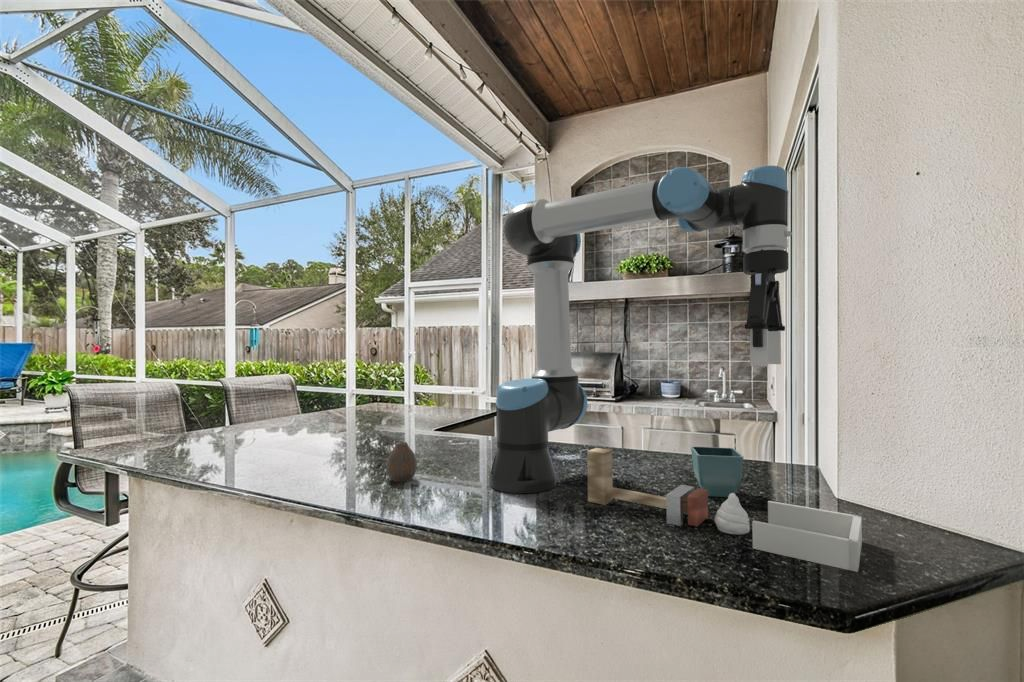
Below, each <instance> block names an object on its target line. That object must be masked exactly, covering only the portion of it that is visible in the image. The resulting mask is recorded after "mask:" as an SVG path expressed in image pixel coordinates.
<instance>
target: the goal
mask: <svg viewBox="0 0 1024 682" xmlns="http://www.w3.org/2000/svg"><path fill="white" fill-rule="evenodd" d="M862 518H863V517H862V515H857V514H850V513H844V512H838V511H831V510H827V509H821V508H815V507H808V506H803V505H797V504H792V503H791V504H790V503H785V502H784V503H783V502H778V501H773V500H768V501H767V521H768V522H763V521H757V520H752V525H751V529H752V549H755V550H758V551H762V552H767V553H772V554H776V555H779V556H780V555H781V556H785V557H789V558H793V559H797V560H803V561H808V562H812V563H815V564H820V565H823V566H829V567H833V568H837V569H842V570H845V571H846V570H847V571H850V572H851V571H852V572H855V573H858V572H859V570H860V569H859V567H860V561H861V553H862V545H863V528H862V527H863V526H862V525H863V523H862V522H863V521H862Z"/></svg>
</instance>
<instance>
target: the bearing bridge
mask: <svg viewBox="0 0 1024 682" xmlns="http://www.w3.org/2000/svg"><path fill="white" fill-rule="evenodd" d="M694 491H695V486H691V485H684V484H680V485H678V486H677V487H675V488H674V489H673V490H671V491H670V492H668V493H666V495H665V497H666V506H667V509H666V524H667V525H673V526H677V527H682V525H684V521H683V520H684V515H685V516H688V513H685V512H683V500H684V501H688V496H689V495H690V494H691V493H693V492H694Z"/></svg>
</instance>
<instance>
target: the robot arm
mask: <svg viewBox="0 0 1024 682" xmlns="http://www.w3.org/2000/svg"><path fill="white" fill-rule="evenodd" d="M787 178H788V177H787V171H786V169H784V168H783V167H781V166H779V165H762V166H757V167H754V168H753V169H749V170H747V171H745V172H744V173H743V175H742V178H741V179H742V180H741V181H740V184H736V185H733V186H729V187H728V186H727V187H723V188H716V187H715V186H714V185H713V184H712V183H710V181H708V180H707V178H706V176H704V175H703V174H702V173H700V172H699V171H697V170H696V169H695V170H694V169H693V168H690V167H687V166H679V167H675V168H672V169H671V170H668V172H666V174H664V175H663V176H662V177H661V178H660V179H655V180H651V181H645V182H641V183H636V184H632V185H626V186H623V187H617V188H612V189H608V190H602V191H599V192H592V193H589V194H584V195H578V196H574V197H569V198H563V199H560V200H554V201H549V200H547V199H545V198H541V199H537V200H531V201H528V202H523V203H520V204H519V205H516V206H515V207H514V208H513V209H511V211H510V212H509V213H508V214H507V216H506V218H505V221H504V226H503V234H504V237H505V240H506V242H507V244H508V245H509V247H510V248H512V249H513V250H514V251H515V252H517V253H518V254H522V255H524V256H526V259H527V263H526V265H527V269H528V270H529V271H530V272H531V273H532V274H533V284H534V312H535V313H534V314H535V317H534V318H535V340H536V341H535V342H536V367H537V368H536V370H535V371H534V373H532V375H531V378H530V377H529V378H522V379H513V380H508V381H505V382H503V383H501V384H500V385H499V386H498V387H497V390H496V399H495V408H496V411H495V414H496V452H495V455H494V459H493V462H492V465H491V470H490V472H489V486H490V487H491V488H492V489H494V490H497V491H500V492H504V493H513V494H533V493H534V494H535V493H541V492H542V493H543V492H545V491H548V490H551V489H554V488H555V487H556V486H557V473H556V471H555V467H554V463H553V461H552V458H551V454H550V450H549V432H553V431H557V430H566V429H567V428H570V427H572V426H574V425H576V424H578V423H579V422H580V421H581V420H582V419H583V417H584V416H585V414H586V411H587V410H588V409H587V408H588V395H587V393H586V391H585V389H583V387H582V385H581V384H580V383H579V373H577V371H576V370H574V369H573V365H572V346H571V345H572V343H571V339H572V338H571V320H570V314H571V313H570V295H569V294H570V291H569V289H570V288H569V272H570V271H571V269H572V268H574V265H575V264H574V263H575V262H574V261H575V260H574V258H576V256H577V254H578V253H579V251H580V248H581V243H582V242H581V241H582V240H581V234H583V233H591V232H596V231H604V230H609V229H615V228H622V227H627V226H633V225H640V224H646V223H651V222H652V223H653V222H660V221H667V220H672V219H673V220H674V219H676V220H677V224H678V226H679V227H680V229H681V231H683V232H685V233H691V232H698V233H700V232H704V231H707V230H708V231H710V230H715V229H722V228H725V227H726V228H727V227H734V226H739V225H742V252H744V255H743V256H742V267H743V269H742V271H743V274H745V275H747V276H750V288H749V289H750V290H749V296H748V297H749V298H748V306H747V307H748V308H747V318H746V323H744V329H745V330H749V366H750V367H769V365H781V364H782V333H781V332H785V330H786V326H785V325H784V324H783V320H782V309H781V307H782V306H781V297H780V296H781V295H780V281H779V280H776V276H775V275H777V274H783V273H786V272H787V271H789V252H788V251H787V248H789V245H788V244H789V239H788V237H791V236H792V234H793V233H792V231H790V230H789V229H788V226H789V224H788V223H789V220H788V219H789V218H788V217H789V216H788V215H789V190H788V179H787Z"/></svg>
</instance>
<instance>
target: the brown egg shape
mask: <svg viewBox="0 0 1024 682" xmlns="http://www.w3.org/2000/svg"><path fill="white" fill-rule="evenodd" d="M417 469H418V460H417V456H416V454H415V452H414V451H413V449H411V448H410V445H409V443H408V442H407V441H399V442H396V444H395V447H393V449H392V450H391V452H390V454H389V455H388V457H387V461H386V471H387V474H388V477H389V478H390V479H391V480H392V481H393V482H395V483H406V482H409V481H411V480H412V479H413V478H414V476H415V475H416V471H417Z"/></svg>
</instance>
